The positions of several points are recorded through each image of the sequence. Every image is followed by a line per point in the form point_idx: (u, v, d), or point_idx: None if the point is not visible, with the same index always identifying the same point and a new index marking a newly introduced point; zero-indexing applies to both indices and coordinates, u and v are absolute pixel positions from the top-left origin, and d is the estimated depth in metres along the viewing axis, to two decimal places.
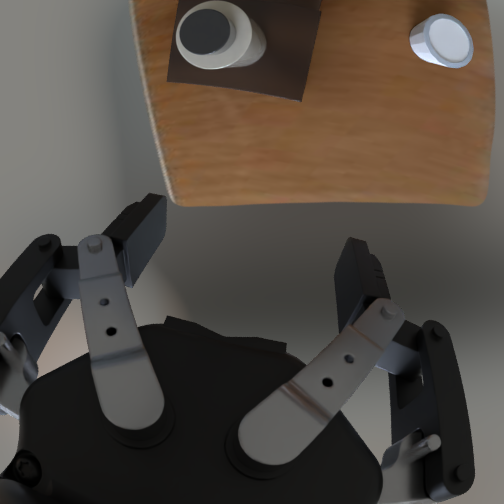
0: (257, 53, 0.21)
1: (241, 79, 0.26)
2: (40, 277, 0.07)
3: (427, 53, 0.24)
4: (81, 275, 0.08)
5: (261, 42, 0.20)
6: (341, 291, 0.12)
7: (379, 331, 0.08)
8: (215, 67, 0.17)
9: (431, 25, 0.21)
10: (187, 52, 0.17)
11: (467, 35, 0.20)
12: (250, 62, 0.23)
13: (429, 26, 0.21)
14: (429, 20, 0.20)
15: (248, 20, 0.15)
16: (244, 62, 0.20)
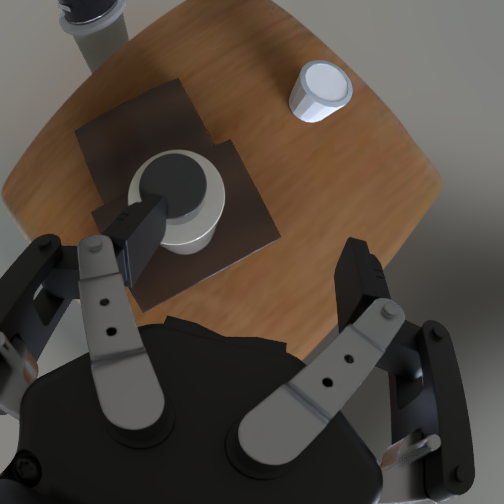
0: None
1: (215, 259, 0.26)
2: (40, 277, 0.07)
3: (322, 109, 0.32)
4: (81, 275, 0.08)
5: None
6: (341, 291, 0.12)
7: (379, 332, 0.08)
8: (206, 230, 0.15)
9: (306, 82, 0.30)
10: None
11: (332, 66, 0.31)
12: None
13: (306, 84, 0.30)
14: (301, 79, 0.30)
15: (202, 157, 0.16)
16: None
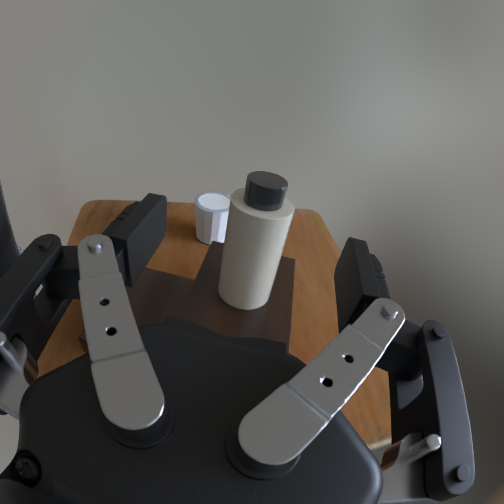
0: None
1: (282, 292, 0.31)
2: (40, 277, 0.07)
3: (227, 217, 0.49)
4: (81, 275, 0.08)
5: None
6: (341, 291, 0.12)
7: (379, 332, 0.08)
8: (292, 205, 0.25)
9: (206, 208, 0.47)
10: (280, 214, 0.23)
11: (207, 193, 0.51)
12: None
13: (207, 209, 0.47)
14: (202, 208, 0.47)
15: None
16: None
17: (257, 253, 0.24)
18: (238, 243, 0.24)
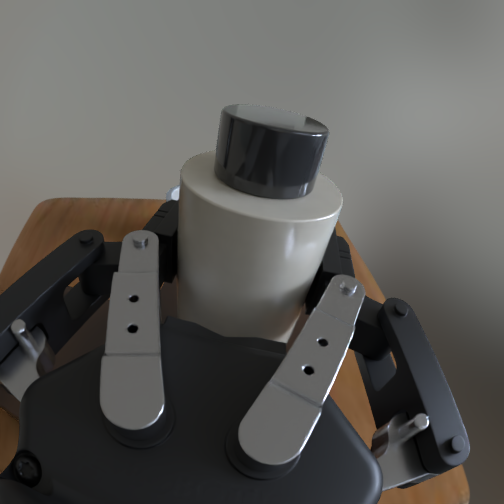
0: None
1: None
2: (75, 273, 0.08)
3: None
4: (119, 268, 0.08)
5: None
6: None
7: (344, 309, 0.08)
8: (336, 187, 0.10)
9: None
10: (311, 208, 0.08)
11: None
12: None
13: None
14: None
15: None
16: None
17: (249, 309, 0.09)
18: (202, 284, 0.09)
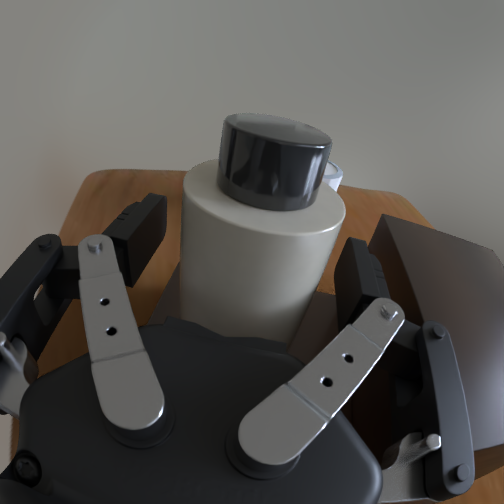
0: None
1: None
2: (40, 277, 0.07)
3: (334, 189, 0.30)
4: (81, 275, 0.08)
5: None
6: (341, 291, 0.12)
7: (379, 332, 0.08)
8: (338, 196, 0.10)
9: None
10: (314, 221, 0.08)
11: None
12: None
13: None
14: None
15: None
16: None
17: (251, 320, 0.09)
18: (204, 295, 0.09)
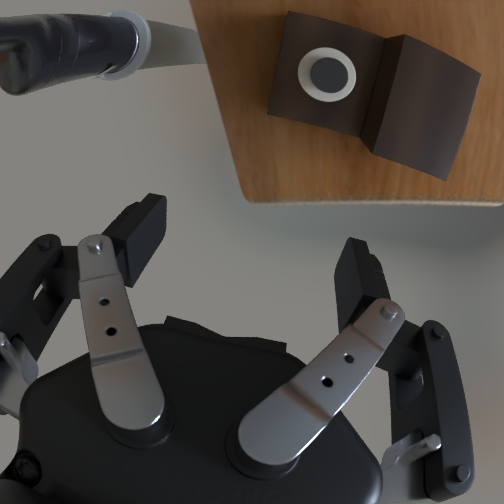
0: None
1: (461, 117, 0.24)
2: (40, 277, 0.07)
3: None
4: (81, 275, 0.08)
5: None
6: (341, 291, 0.12)
7: (379, 332, 0.08)
8: (354, 76, 0.22)
9: None
10: (339, 94, 0.23)
11: None
12: None
13: None
14: None
15: (318, 48, 0.21)
16: None
17: None
18: None
